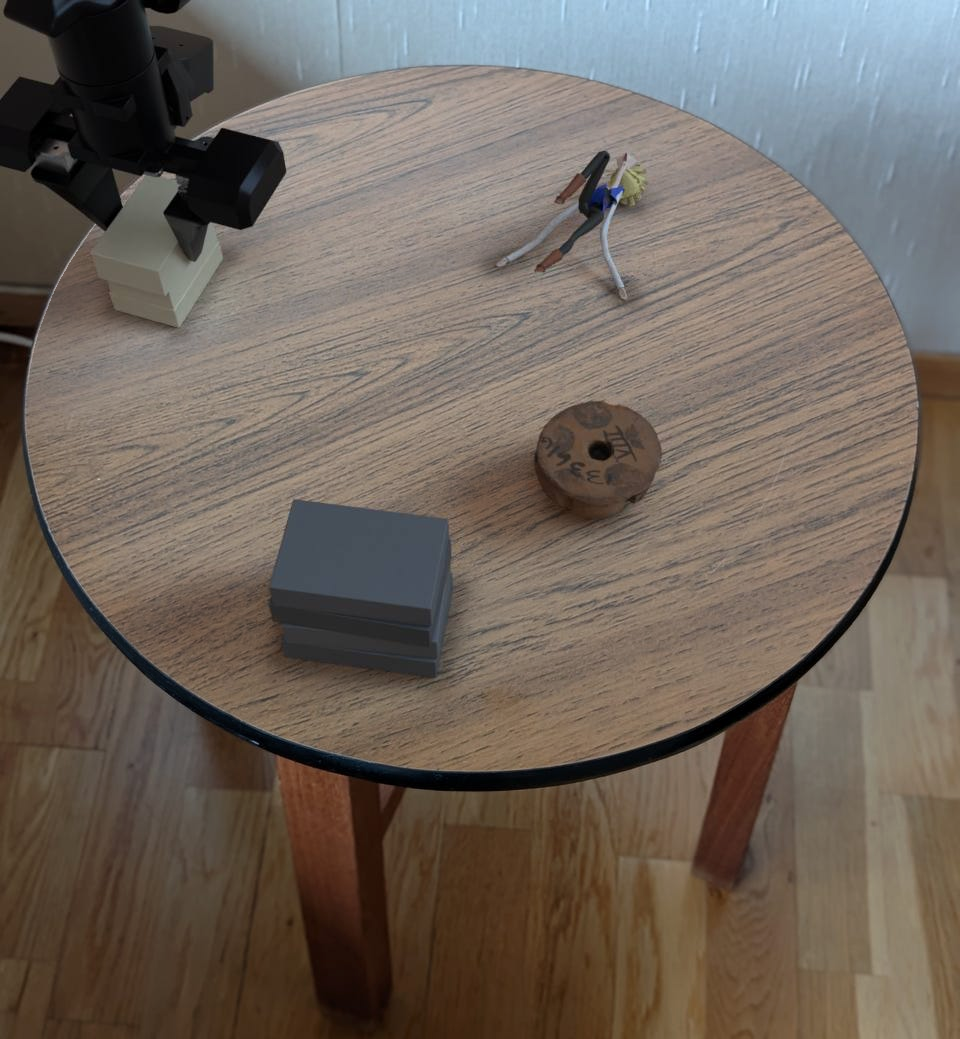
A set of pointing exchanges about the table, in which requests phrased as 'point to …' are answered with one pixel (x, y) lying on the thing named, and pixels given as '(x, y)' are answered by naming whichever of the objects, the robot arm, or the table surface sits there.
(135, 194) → the cream block
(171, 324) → the sage lidded box
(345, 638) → the grey stack
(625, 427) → the artifact
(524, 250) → the figurine
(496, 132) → the table surface
